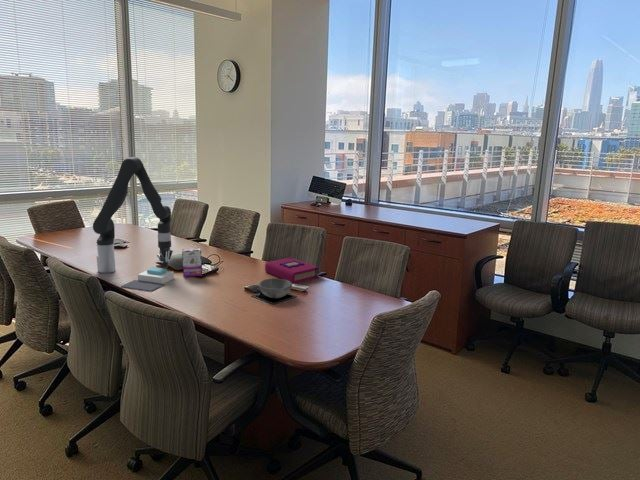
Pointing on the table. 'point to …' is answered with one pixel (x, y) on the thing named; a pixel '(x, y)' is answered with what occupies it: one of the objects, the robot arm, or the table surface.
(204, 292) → the table surface
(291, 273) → the book
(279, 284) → the bowl
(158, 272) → the teal flat block
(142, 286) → the mat
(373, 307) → the table surface
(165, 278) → the block
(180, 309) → the table surface
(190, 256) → the candy bar box
